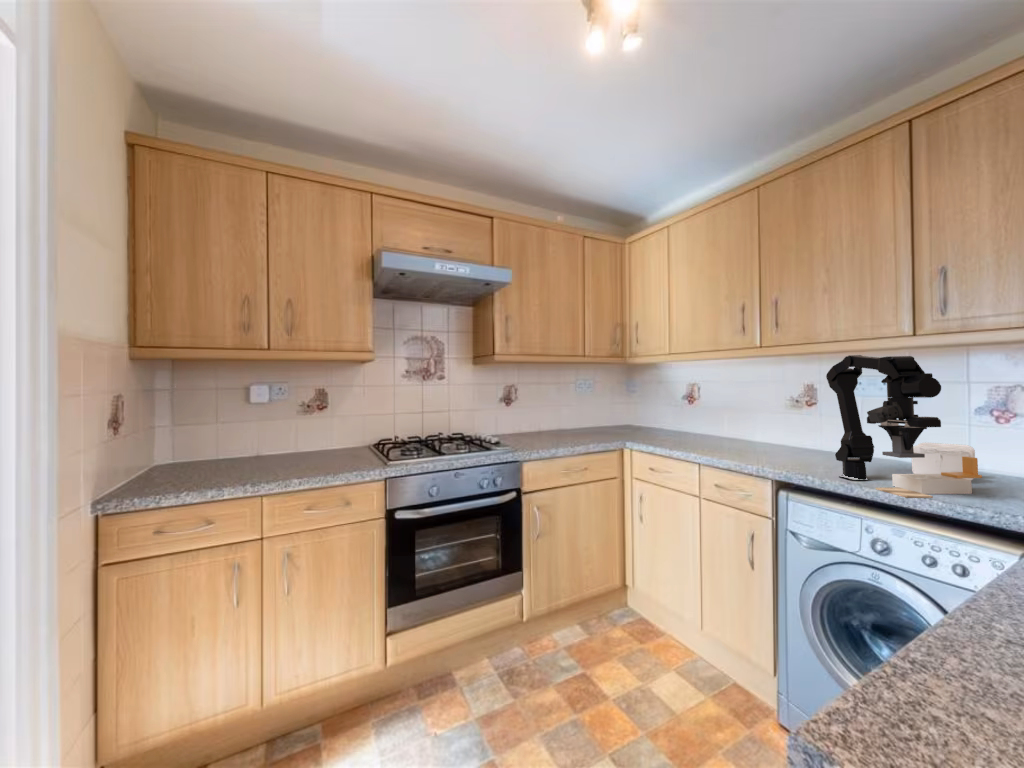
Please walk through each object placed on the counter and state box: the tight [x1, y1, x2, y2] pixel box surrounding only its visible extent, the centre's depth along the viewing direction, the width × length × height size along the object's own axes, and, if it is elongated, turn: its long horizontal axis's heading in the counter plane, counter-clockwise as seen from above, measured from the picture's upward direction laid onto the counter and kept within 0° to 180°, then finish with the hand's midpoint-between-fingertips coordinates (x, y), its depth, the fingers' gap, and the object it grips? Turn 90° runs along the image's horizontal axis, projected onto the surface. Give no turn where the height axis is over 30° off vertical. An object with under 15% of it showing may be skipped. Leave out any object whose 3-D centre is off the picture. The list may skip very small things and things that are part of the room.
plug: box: [882, 431, 925, 459], centre depth 124 cm, size 6×7×8 cm
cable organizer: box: [911, 442, 976, 481], centre depth 143 cm, size 15×11×12 cm
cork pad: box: [875, 486, 933, 499], centre depth 124 cm, size 11×7×1 cm, turn 177°
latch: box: [941, 457, 983, 479], centre depth 127 cm, size 5×7×6 cm
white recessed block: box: [891, 473, 973, 495], centre depth 127 cm, size 10×14×4 cm
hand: (902, 449), depth 124 cm, fingers closed on plug, 3 cm apart
